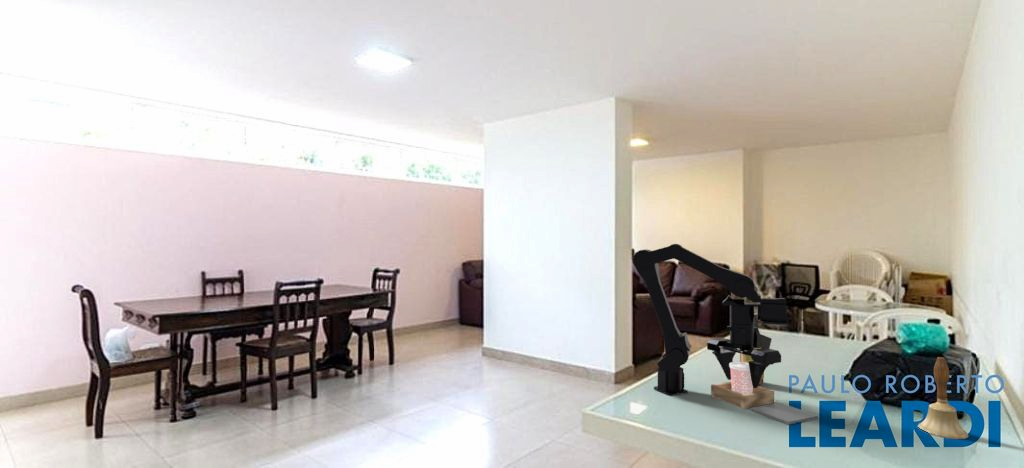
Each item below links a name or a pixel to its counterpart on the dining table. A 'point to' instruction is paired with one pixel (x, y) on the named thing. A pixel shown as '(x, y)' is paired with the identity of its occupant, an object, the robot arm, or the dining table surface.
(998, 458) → the dining table surface
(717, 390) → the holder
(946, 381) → the hand bell
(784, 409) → the coaster
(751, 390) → the beverage cup
